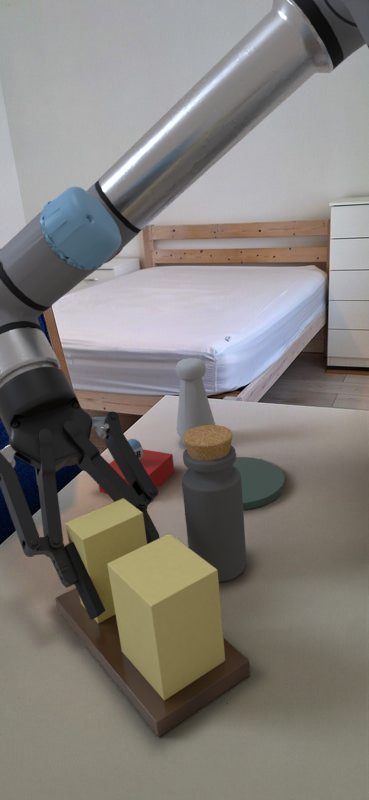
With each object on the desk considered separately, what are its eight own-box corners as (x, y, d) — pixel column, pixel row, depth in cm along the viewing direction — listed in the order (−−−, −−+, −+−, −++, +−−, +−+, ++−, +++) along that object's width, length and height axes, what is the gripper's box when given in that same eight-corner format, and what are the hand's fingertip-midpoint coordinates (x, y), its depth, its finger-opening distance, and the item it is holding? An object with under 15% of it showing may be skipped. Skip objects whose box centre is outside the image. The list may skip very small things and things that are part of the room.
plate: (242, 454, 85) (241, 448, 84) (304, 485, 75) (304, 478, 75) (173, 485, 79) (172, 478, 78) (231, 522, 69) (230, 514, 69)
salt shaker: (193, 431, 94) (185, 352, 89) (223, 438, 90) (217, 356, 86) (170, 446, 89) (161, 364, 85) (202, 454, 86) (194, 368, 81)
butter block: (179, 618, 53) (169, 533, 50) (225, 660, 48) (217, 569, 45) (121, 651, 50) (106, 563, 47) (164, 701, 45) (151, 606, 42)
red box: (143, 501, 75) (137, 457, 73) (100, 492, 79) (93, 449, 76) (174, 472, 82) (169, 430, 79) (132, 464, 85) (127, 424, 83)
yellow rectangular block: (135, 576, 59) (123, 497, 56) (154, 593, 57) (142, 512, 53) (80, 603, 56) (65, 522, 53) (98, 623, 54) (82, 539, 50)
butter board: (136, 570, 63) (134, 558, 62) (250, 674, 49) (249, 660, 48) (57, 610, 58) (54, 597, 57) (158, 737, 44) (156, 722, 43)
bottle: (181, 558, 64) (167, 431, 58) (230, 541, 66) (221, 417, 60) (205, 590, 59) (192, 454, 53) (256, 571, 61) (249, 438, 55)
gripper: (102, 378, 68) (200, 563, 61) (-70, 430, 58) (25, 656, 51) (119, 341, 62) (230, 542, 55) (-69, 392, 52) (38, 644, 45)
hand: (131, 597), depth 53 cm, fingers closed on yellow rectangular block, 6 cm apart
